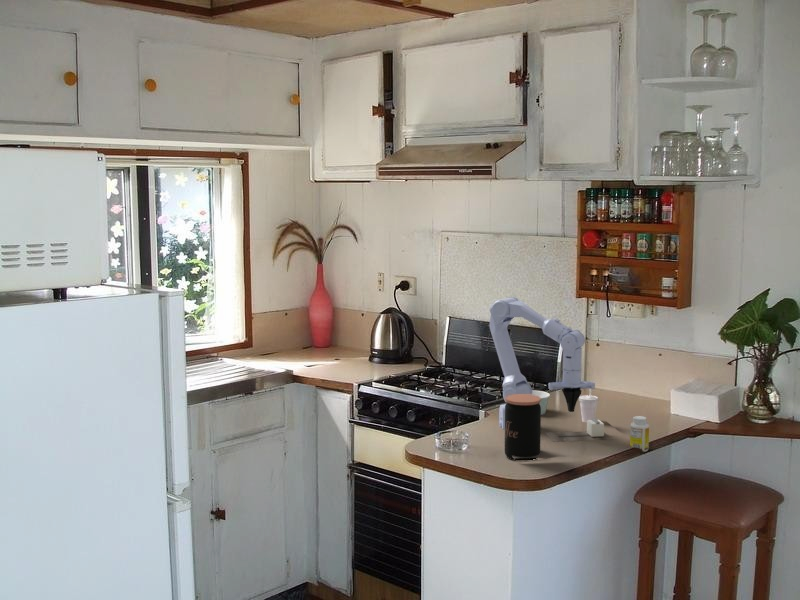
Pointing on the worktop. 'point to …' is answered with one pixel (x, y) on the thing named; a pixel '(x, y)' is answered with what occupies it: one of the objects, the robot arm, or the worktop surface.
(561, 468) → the worktop surface
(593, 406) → the smoothie
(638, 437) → the supplement bottle
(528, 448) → the coffee jar
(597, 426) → the fader knob
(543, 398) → the food container
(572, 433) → the fader board
